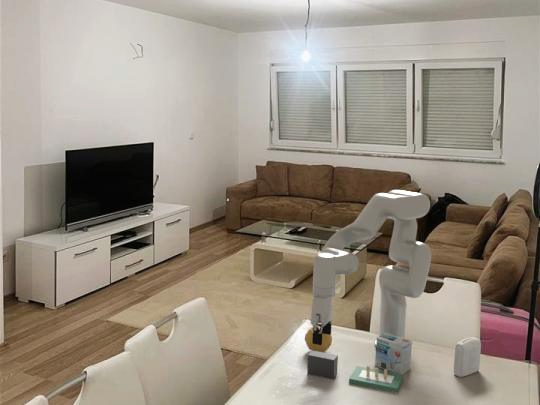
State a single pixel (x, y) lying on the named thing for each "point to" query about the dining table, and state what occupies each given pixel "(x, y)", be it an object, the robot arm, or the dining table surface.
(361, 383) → the board
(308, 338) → the stress ball
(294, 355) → the dining table surface
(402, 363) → the light bulb box
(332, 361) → the gray rectangular block
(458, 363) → the white upright block
